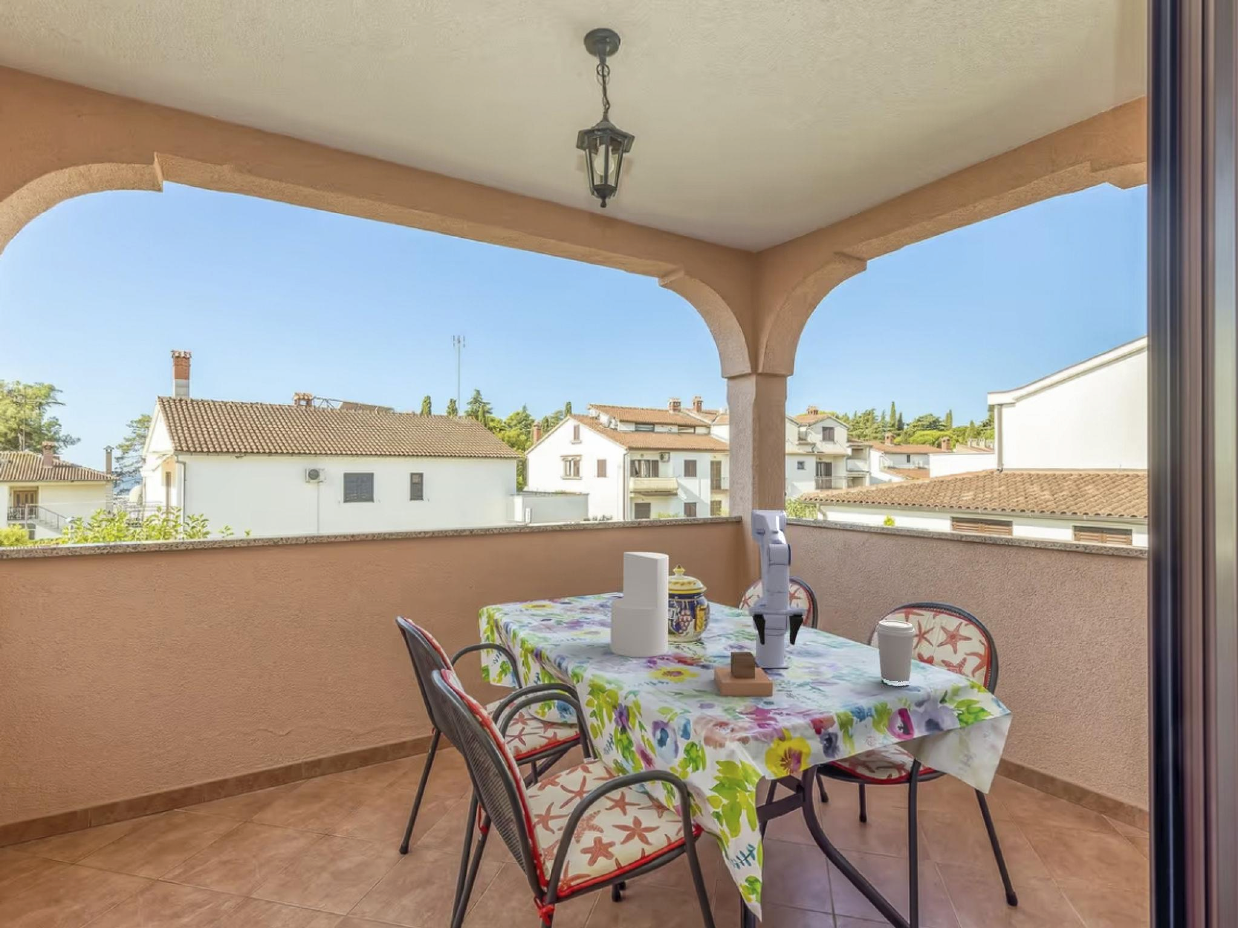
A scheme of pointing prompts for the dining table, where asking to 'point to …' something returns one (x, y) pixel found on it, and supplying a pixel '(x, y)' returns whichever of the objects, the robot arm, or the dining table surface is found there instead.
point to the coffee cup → (895, 649)
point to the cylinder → (641, 607)
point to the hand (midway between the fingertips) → (777, 643)
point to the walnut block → (742, 665)
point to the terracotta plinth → (743, 683)
